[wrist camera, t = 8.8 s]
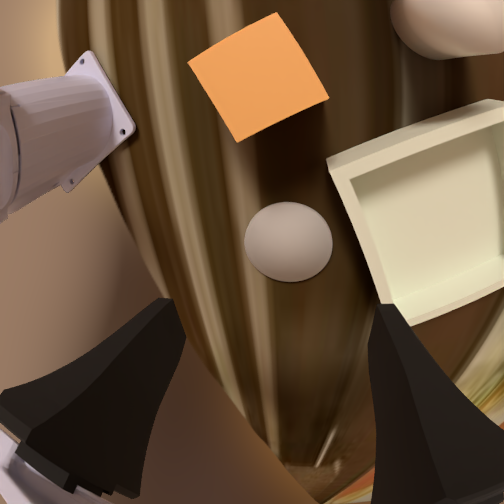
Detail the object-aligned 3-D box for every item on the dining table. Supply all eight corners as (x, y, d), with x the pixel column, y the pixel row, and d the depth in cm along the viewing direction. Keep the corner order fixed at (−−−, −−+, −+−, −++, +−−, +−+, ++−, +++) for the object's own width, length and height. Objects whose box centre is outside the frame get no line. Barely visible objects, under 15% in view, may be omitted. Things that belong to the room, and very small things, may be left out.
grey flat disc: (271, 285, 22) (270, 291, 22) (231, 221, 20) (228, 226, 20) (344, 258, 20) (345, 265, 19) (309, 185, 18) (309, 189, 17)
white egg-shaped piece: (414, 68, 12) (461, 61, 7) (374, -2, 10) (402, -39, 5) (472, 52, 10) (527, 48, 5) (436, -14, 8) (478, -42, 3)
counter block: (256, 129, 16) (237, 142, 12) (219, 69, 15) (187, 62, 10) (323, 97, 15) (329, 98, 10) (285, 34, 13) (276, 12, 9)
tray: (384, 306, 21) (390, 333, 19) (325, 158, 16) (329, 171, 14) (511, 252, 16) (528, 273, 14) (488, 98, 11) (513, 103, 9)
